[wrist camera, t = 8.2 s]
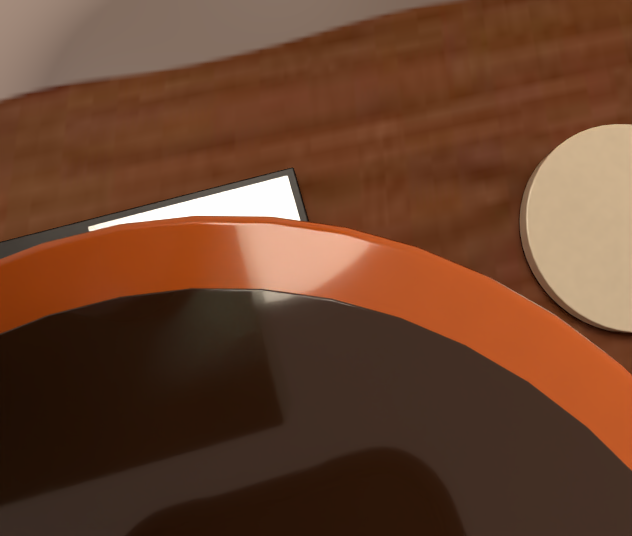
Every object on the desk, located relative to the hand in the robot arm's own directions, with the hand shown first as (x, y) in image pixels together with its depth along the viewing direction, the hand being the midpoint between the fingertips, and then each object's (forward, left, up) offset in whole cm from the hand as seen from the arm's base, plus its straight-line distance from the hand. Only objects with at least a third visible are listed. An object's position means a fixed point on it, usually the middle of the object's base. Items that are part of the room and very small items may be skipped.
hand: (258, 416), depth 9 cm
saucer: (-8, -12, -9) cm, 17 cm away
